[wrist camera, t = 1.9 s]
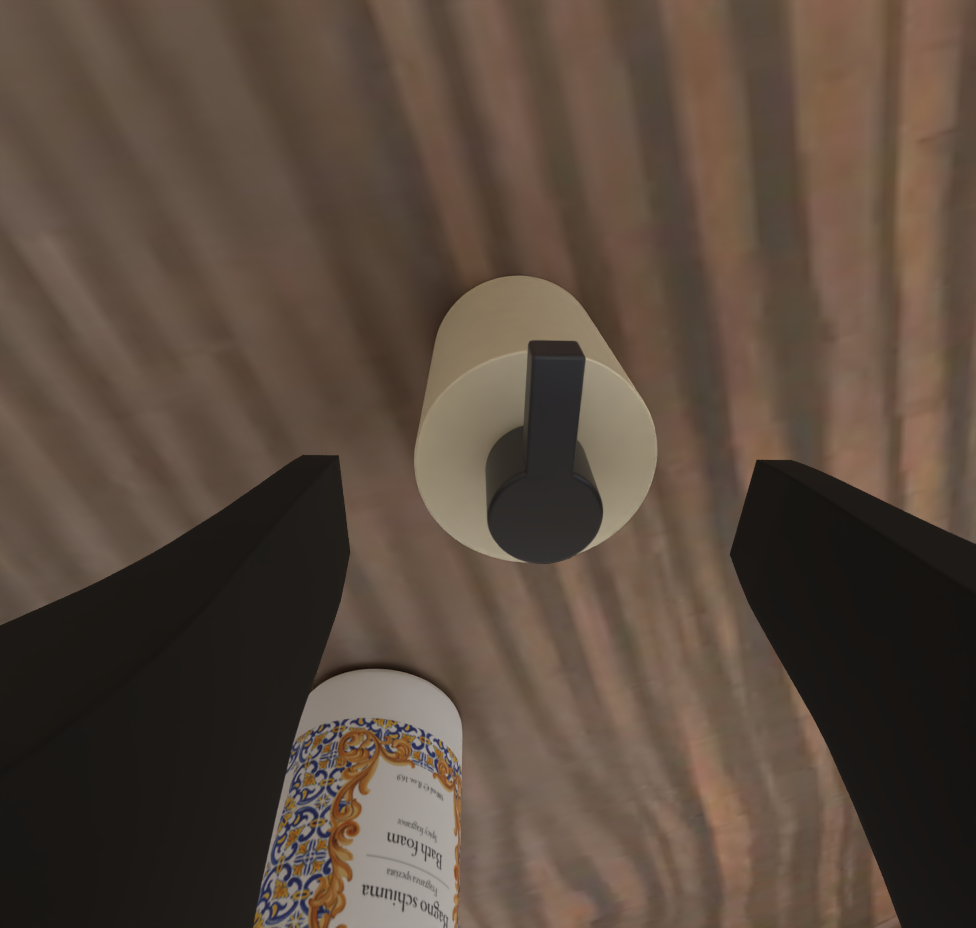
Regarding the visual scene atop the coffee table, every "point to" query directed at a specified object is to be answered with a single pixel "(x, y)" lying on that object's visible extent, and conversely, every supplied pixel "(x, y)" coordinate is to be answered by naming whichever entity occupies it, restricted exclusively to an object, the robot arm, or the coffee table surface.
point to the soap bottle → (530, 426)
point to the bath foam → (369, 809)
